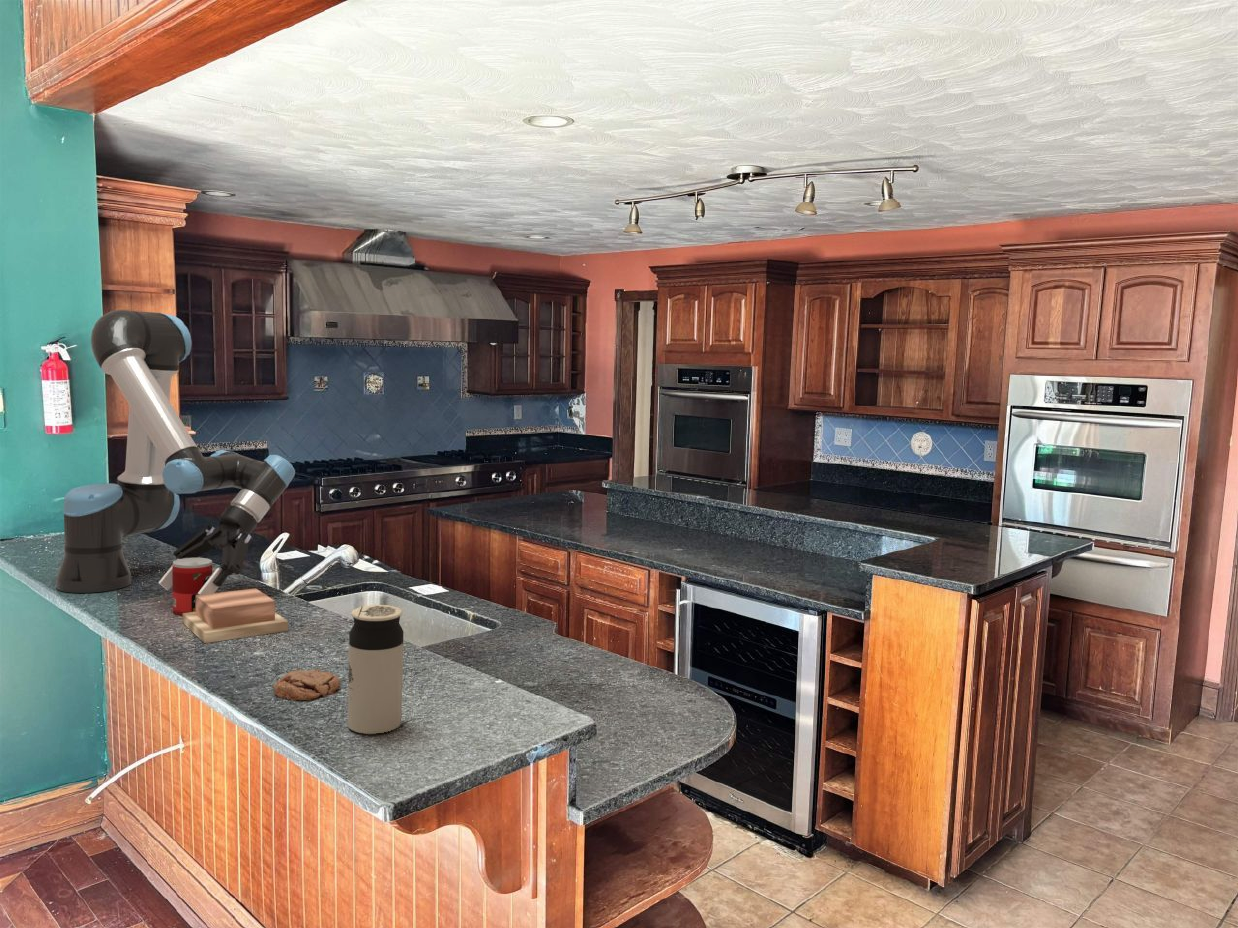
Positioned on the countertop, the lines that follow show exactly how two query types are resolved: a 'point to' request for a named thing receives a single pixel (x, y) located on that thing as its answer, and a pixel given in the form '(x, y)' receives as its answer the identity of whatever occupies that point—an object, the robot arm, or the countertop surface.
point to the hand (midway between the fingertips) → (182, 591)
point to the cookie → (306, 685)
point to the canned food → (189, 582)
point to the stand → (234, 616)
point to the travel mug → (375, 669)
